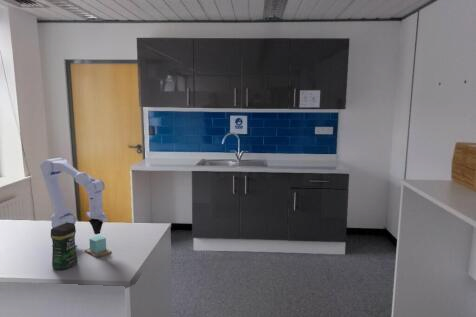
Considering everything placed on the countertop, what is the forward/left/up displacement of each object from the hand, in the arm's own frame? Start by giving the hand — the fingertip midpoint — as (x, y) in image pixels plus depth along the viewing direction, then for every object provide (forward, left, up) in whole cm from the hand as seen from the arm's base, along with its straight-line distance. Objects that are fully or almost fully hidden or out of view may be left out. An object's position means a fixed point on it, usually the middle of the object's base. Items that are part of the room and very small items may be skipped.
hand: (97, 233), depth 154 cm
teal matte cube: (0, 0, -8) cm, 8 cm away
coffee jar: (+1, -16, -10) cm, 19 cm away
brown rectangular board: (0, 0, -9) cm, 9 cm away
